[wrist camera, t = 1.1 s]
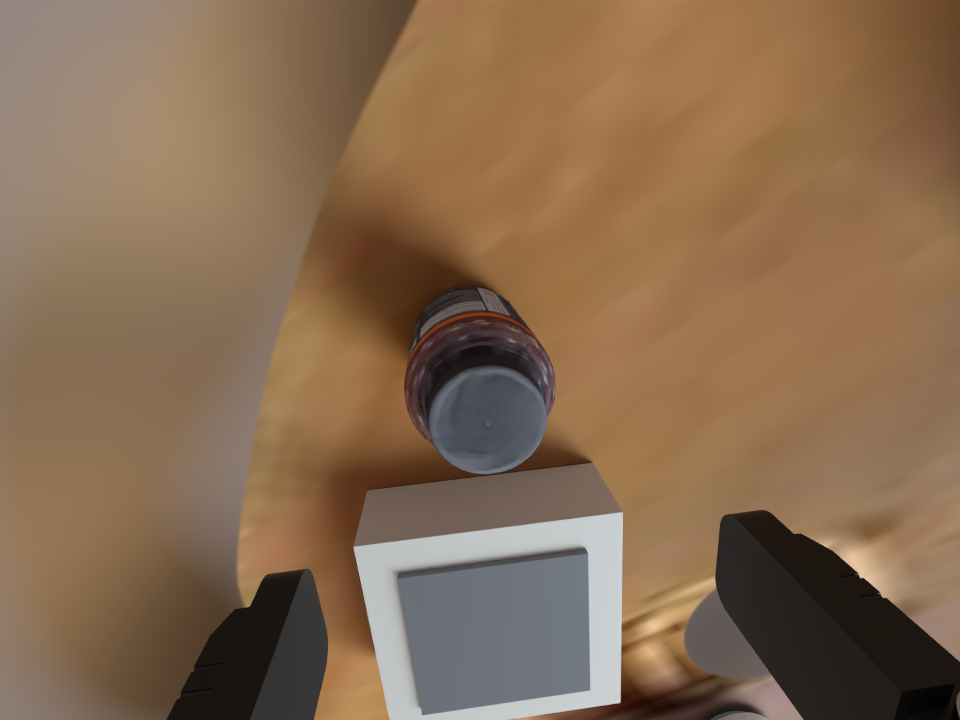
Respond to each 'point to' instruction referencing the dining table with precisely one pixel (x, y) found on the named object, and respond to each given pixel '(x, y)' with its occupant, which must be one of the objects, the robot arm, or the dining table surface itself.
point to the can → (738, 716)
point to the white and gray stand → (494, 594)
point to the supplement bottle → (478, 381)
